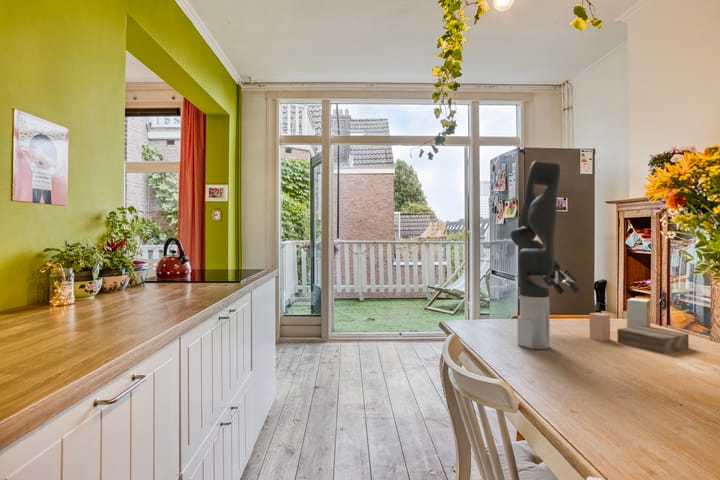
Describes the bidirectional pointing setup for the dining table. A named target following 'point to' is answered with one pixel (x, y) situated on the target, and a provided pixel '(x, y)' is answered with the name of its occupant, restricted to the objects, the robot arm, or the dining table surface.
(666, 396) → the dining table surface
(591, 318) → the terracotta block
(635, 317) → the small box
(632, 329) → the walnut block
